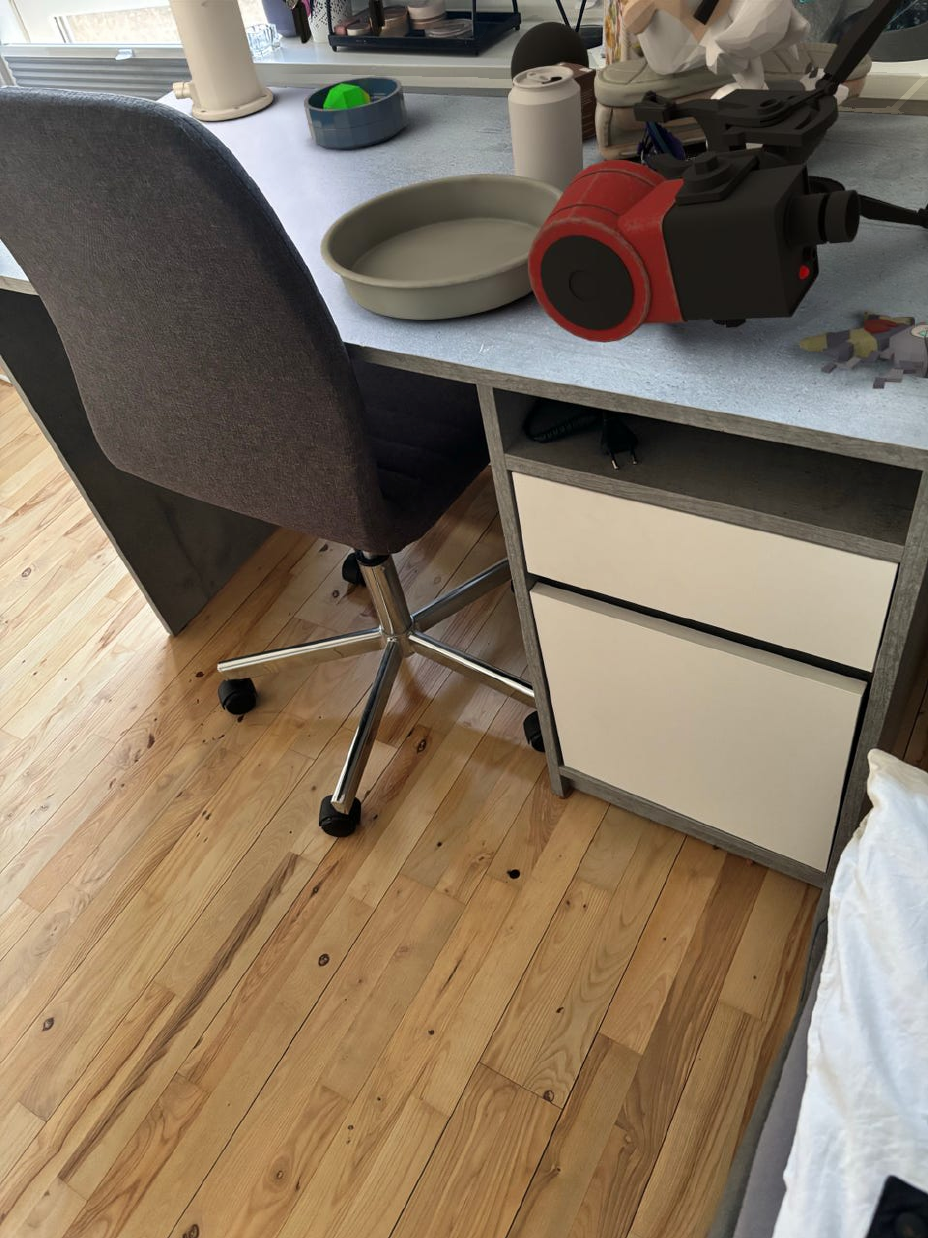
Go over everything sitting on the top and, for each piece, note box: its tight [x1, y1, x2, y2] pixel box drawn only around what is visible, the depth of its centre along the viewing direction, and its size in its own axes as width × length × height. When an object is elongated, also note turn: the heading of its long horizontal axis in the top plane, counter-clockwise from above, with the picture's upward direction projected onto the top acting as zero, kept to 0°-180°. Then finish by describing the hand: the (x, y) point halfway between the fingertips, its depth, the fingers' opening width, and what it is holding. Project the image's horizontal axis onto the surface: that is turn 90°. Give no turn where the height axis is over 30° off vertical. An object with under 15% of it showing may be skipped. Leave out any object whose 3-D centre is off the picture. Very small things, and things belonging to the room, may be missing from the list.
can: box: [507, 66, 584, 193], centre depth 98 cm, size 8×8×12 cm
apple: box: [323, 83, 371, 109], centre depth 123 cm, size 7×6×9 cm
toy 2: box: [797, 310, 928, 390], centre depth 69 cm, size 15×4×15 cm
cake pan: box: [319, 173, 563, 321], centre depth 90 cm, size 25×25×4 cm
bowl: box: [303, 75, 409, 150], centre depth 124 cm, size 13×13×5 cm
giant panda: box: [705, 61, 850, 152], centre depth 96 cm, size 15×6×10 cm, turn 93°
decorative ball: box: [510, 21, 590, 87], centre depth 118 cm, size 10×10×10 cm
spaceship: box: [637, 122, 687, 172], centre depth 100 cm, size 7×6×5 cm
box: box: [553, 62, 598, 141], centre depth 111 cm, size 6×6×7 cm
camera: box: [528, 0, 928, 344], centre depth 77 cm, size 25×30×29 cm
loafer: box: [594, 41, 873, 161], centre depth 103 cm, size 11×30×9 cm, turn 88°
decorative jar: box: [604, 0, 646, 66], centre depth 107 cm, size 12×12×18 cm
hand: (342, 36), depth 121 cm, fingers open, 9 cm apart
